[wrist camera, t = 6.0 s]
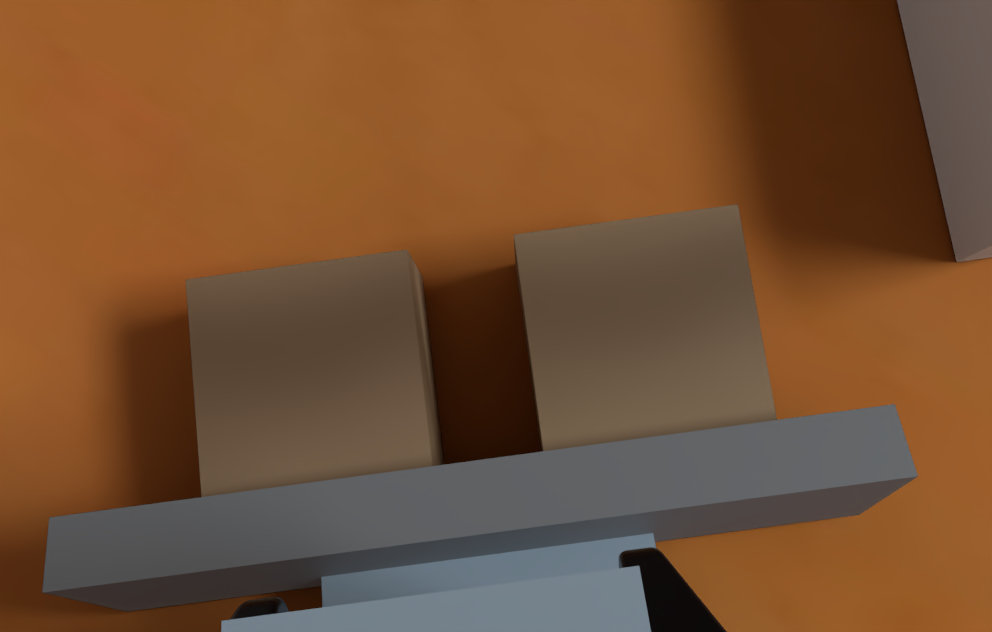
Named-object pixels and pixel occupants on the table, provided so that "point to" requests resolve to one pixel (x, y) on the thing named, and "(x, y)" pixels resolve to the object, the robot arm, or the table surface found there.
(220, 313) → the walnut block
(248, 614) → the robot arm
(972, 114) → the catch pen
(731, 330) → the walnut block
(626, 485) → the scraper
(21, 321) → the table surface
